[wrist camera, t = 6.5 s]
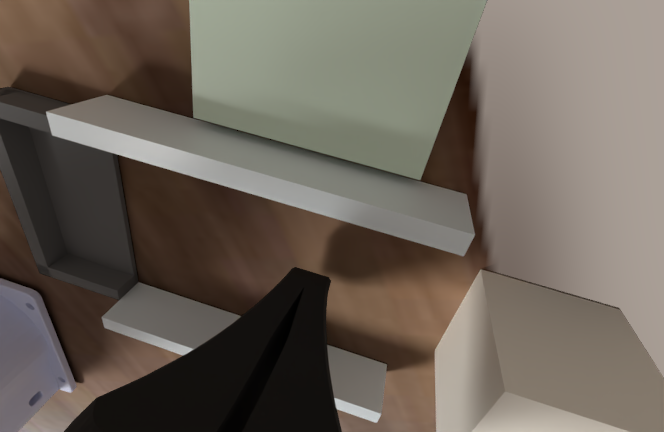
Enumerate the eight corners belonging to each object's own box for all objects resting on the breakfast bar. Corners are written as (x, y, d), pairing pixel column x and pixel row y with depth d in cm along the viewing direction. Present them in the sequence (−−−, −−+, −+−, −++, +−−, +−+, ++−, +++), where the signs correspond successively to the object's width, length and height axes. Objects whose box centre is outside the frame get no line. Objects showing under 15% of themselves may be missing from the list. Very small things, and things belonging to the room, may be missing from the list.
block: (547, 384, 14) (592, 527, 10) (434, 349, 14) (437, 472, 10) (619, 307, 11) (715, 459, 7) (480, 267, 12) (505, 390, 8)
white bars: (382, 373, 15) (376, 423, 14) (140, 292, 17) (104, 328, 15) (466, 194, 10) (474, 235, 8) (106, 94, 11) (45, 111, 10)
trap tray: (138, 282, 16) (119, 300, 15) (63, 257, 17) (39, 273, 16) (110, 115, 12) (80, 125, 11) (8, 86, 12) (-29, 93, 11)
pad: (420, 171, 10) (420, 180, 10) (204, 112, 11) (193, 117, 10) (542, -161, 6) (552, -175, 6) (198, -221, 7) (181, -238, 7)
